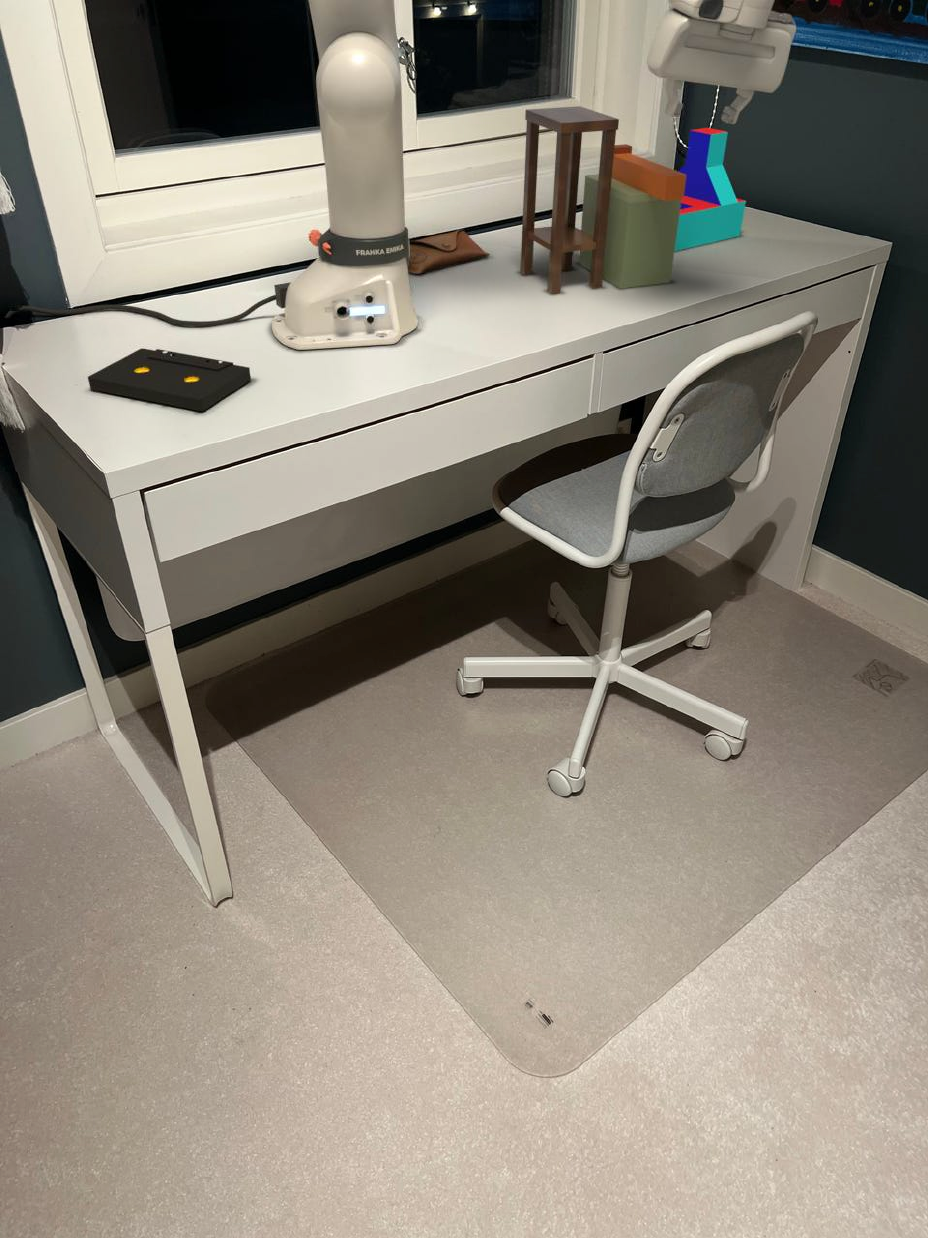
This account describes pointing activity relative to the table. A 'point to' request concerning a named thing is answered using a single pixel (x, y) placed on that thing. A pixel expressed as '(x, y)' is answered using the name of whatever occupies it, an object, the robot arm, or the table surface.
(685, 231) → the building blocks toy
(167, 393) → the cassette tape
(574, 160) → the stand
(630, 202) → the sage green box
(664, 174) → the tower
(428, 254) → the sunglasses case
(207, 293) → the table surface
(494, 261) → the table surface
